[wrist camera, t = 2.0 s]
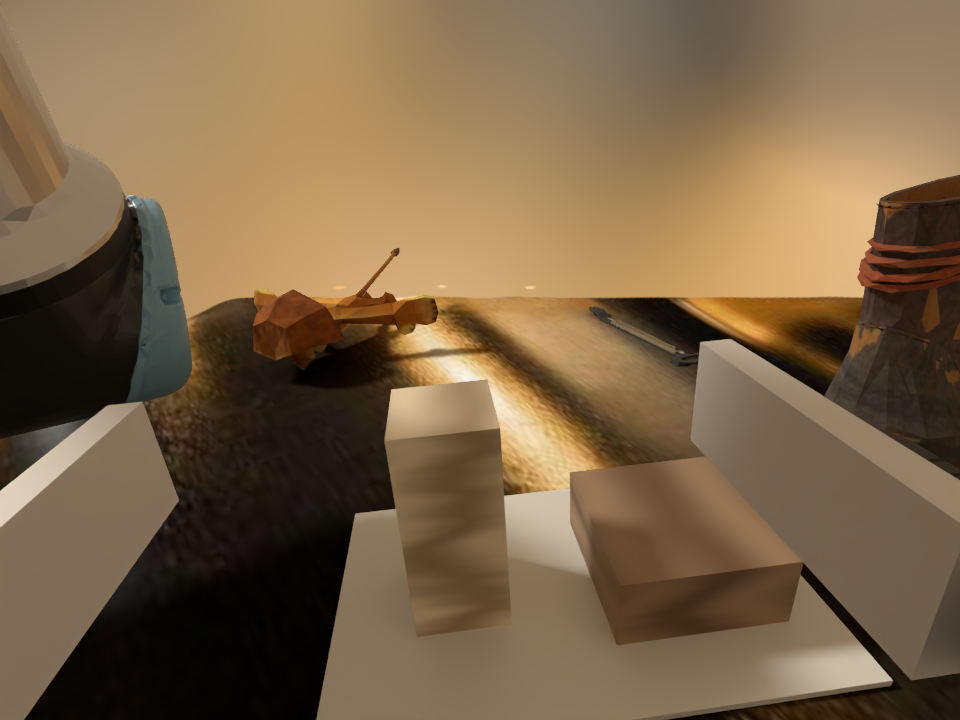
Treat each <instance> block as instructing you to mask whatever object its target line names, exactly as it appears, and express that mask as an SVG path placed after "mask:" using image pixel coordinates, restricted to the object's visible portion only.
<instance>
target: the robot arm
mask: <svg viewBox="0 0 960 720" xmlns="http://www.w3.org/2000/svg"><path fill="white" fill-rule="evenodd" d="M180 291H181V289H180V285H179V280H178V271H177V266H176V261H175V257H174V252H173V247H172V243H171V239H170V234H169V230H168V226H167V222H166V219H165V215H164V212H163V210H162V208H161V206H160V204H159V203H158V202H156V201H155V200H152V199H149V198H140V197H138V196H134V195H130V196H127V197H125V196H124V193H123V191H122V188H121V186H120V183H119V182H118V180H117V178H116V177H115V175H114V174H113V172H112V171H111V170H110V168H109V167H108V166H107V165H106V164H104V163H103V162H102V161H101V160H99V159H98V158H97V157H95V156H93V155H92V154H90V153H89V152H87V151H85V150H83V149H80V148H78V147H76V146H74V145H72V144H69V143H67V142H64V141H62V140H61V137H60V135H59V133H58V131H57V129H56V127H55V124H54V122H53V120H52V118H51V115H50V113H49V111H48V109H47V107H46V104H45V102H44V100H43V98H42V95H41V93H40V91H39V89H38V87H37V85H36V82H35V80H34V78H33V76H32V73H31V71H30V69H29V67H28V64H27V62H26V60H25V58H24V56H23V53H22V51H21V49H20V47H19V45H18V43H17V40H16V38H15V36H14V34H13V31H12V29H11V27H10V25H9V22H8V20H7V18H6V16H5V13H4V11H3V9H2V7H1V5H0V439H2V438H6V437H10V436H14V435H19V434H23V433H27V432H31V431H36V430H40V429H44V428H48V427H53V426H57V425H61V424H65V423H69V422H74V421H78V420H82V419H86V418H91V417H92V418H91V419H90V420H88V421H87V422H86V423H85V424H83V425H82V426H81V427H80V428H78V429H77V430H76V431H75V432H73V433H72V434H71V435H70V436H68V437H67V438H66V439H65V440H63V441H62V442H61V443H60V444H58V445H57V446H56V447H55V448H53V449H52V450H51V451H50V452H48V453H47V454H46V455H45V456H43V457H42V458H41V459H40V460H38V461H37V462H36V463H35V464H33V465H32V466H31V467H30V468H28V469H27V470H26V471H25V472H23V473H22V474H21V475H20V476H18V477H17V478H16V479H15V480H13V481H12V482H11V483H10V484H8V485H7V486H6V487H5V488H3V489H2V490H1V491H0V720H24V719H25V718H26V716H27V715H28V714H29V712H30V711H31V709H32V708H33V706H34V705H35V704H36V702H37V701H38V699H39V698H40V697H41V695H42V694H43V692H44V691H45V689H46V688H47V687H48V685H49V684H50V682H51V681H52V680H53V678H54V677H55V675H56V674H57V672H58V671H59V670H60V668H61V667H62V665H63V664H64V663H65V661H66V660H67V658H68V657H69V655H70V654H71V653H72V651H73V650H74V648H75V647H76V646H77V644H78V643H79V641H80V640H81V638H82V637H83V636H84V634H85V633H86V631H87V630H88V629H89V627H90V626H91V624H92V623H93V621H94V620H95V619H96V617H97V616H98V614H99V613H100V612H101V610H102V609H103V607H104V606H105V604H106V603H107V602H108V600H109V599H110V597H111V596H112V595H113V593H114V592H115V590H116V589H117V587H118V586H119V585H120V583H121V582H122V580H123V579H124V578H125V576H126V575H127V573H128V572H129V570H130V569H131V568H132V566H133V565H134V563H135V562H136V561H137V559H138V558H139V556H140V555H141V553H142V552H143V551H144V549H145V548H146V546H147V545H148V544H149V542H150V541H151V539H152V538H153V536H154V535H155V534H156V532H157V531H158V529H159V528H160V527H161V525H162V524H163V522H164V521H165V519H166V518H167V517H168V515H169V514H170V512H171V511H172V510H173V508H174V507H175V505H176V504H177V502H178V501H179V499H178V497H177V494H176V491H175V488H174V486H173V483H172V480H171V478H170V475H169V472H168V470H167V467H166V464H165V461H164V459H163V456H162V453H161V451H160V448H159V445H158V443H157V440H156V437H155V434H154V432H153V429H152V426H151V424H150V421H149V418H148V415H147V413H146V410H145V407H144V405H143V402H145V401H149V400H152V399H155V398H159V397H162V396H165V395H169V394H171V393H174V392H176V391H177V390H179V389H180V388H182V387H183V386H184V385H185V383H186V382H187V380H188V379H189V377H190V374H191V369H192V359H191V348H190V340H189V333H188V327H187V321H186V315H185V310H184V304H183V301H182V298H181V296H180ZM691 441H692V442H693V443H694V444H695V445H696V446H697V447H698V448H699V449H700V450H701V452H702V453H703V454H704V455H705V456H706V457H707V458H708V459H709V460H710V461H711V462H712V464H713V465H714V466H715V467H716V468H717V469H718V470H719V471H720V472H721V473H722V474H723V476H724V477H725V478H726V479H727V480H728V481H729V482H730V483H731V484H732V485H733V486H734V488H735V489H736V490H737V491H738V492H739V493H740V494H741V495H742V496H743V497H744V498H745V500H746V501H747V502H748V503H749V504H750V505H751V506H752V507H753V508H754V509H755V510H756V512H757V513H758V514H759V515H760V516H761V517H762V518H763V519H764V520H765V521H766V522H767V523H768V525H769V526H770V527H771V528H772V529H773V530H774V531H775V532H776V533H777V534H778V535H779V537H780V538H781V539H782V540H783V541H784V542H785V543H786V544H787V545H788V546H789V547H790V549H791V550H792V551H793V552H794V553H795V554H796V555H797V556H798V557H799V558H800V559H801V561H802V562H803V563H804V564H805V565H806V566H807V567H808V568H809V569H810V570H811V571H812V573H813V574H814V575H815V576H816V577H817V578H818V579H819V580H820V581H821V582H822V583H823V585H824V586H825V587H826V588H827V589H828V590H829V591H830V592H831V593H832V594H833V595H834V597H835V598H836V599H837V600H838V601H839V602H840V603H841V604H842V605H843V606H844V607H845V609H846V610H847V611H848V612H849V613H850V614H851V615H852V616H853V617H854V618H855V619H856V621H857V622H858V623H859V624H860V625H861V626H862V627H863V628H864V629H865V630H866V631H867V633H868V634H869V635H870V636H871V637H872V638H873V639H874V640H875V641H876V642H877V643H878V645H879V646H880V647H881V648H882V649H883V650H884V651H885V652H886V653H887V654H888V655H889V656H890V658H891V659H892V660H893V661H894V662H895V663H896V664H897V665H898V666H899V667H900V668H901V670H902V671H903V672H904V673H905V674H906V675H907V676H908V677H909V678H910V679H911V680H916V679H923V678H929V677H936V676H942V675H949V674H955V673H960V470H959V469H958V468H956V467H954V466H953V465H951V464H949V463H948V462H946V461H945V462H941V460H940V458H939V457H938V456H936V455H934V454H933V453H931V452H929V451H928V450H926V449H924V448H923V447H921V446H919V445H918V444H916V443H914V442H913V441H910V440H908V439H905V438H902V437H900V436H897V435H895V434H892V433H889V432H887V431H884V430H881V429H879V428H874V427H873V426H871V425H869V424H868V423H866V422H864V421H863V420H861V419H860V418H858V417H856V416H855V415H853V414H851V413H850V412H848V411H847V410H845V409H843V408H842V407H840V406H838V405H837V404H835V403H834V402H832V401H830V400H829V399H827V398H825V397H824V396H822V395H821V394H819V393H817V392H816V391H814V390H813V389H811V388H809V387H808V386H806V385H804V384H803V383H801V382H800V381H798V380H796V379H795V378H793V377H791V376H790V375H788V374H787V373H785V372H783V371H782V370H780V369H778V368H777V367H775V366H774V365H772V364H770V363H769V362H767V361H766V360H764V359H762V358H761V357H759V356H757V355H756V354H754V353H753V352H751V351H749V350H748V349H746V348H744V347H743V346H741V345H740V344H738V343H736V342H735V341H733V340H731V339H726V340H717V341H708V342H700V352H699V361H698V371H697V381H696V391H695V401H694V411H693V421H692V431H691Z"/></svg>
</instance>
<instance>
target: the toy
mask: <svg viewBox="0 0 960 720" xmlns="http://www.w3.org/2000/svg"><path fill="white" fill-rule="evenodd" d="M398 254H399V248H397V249H394V250H393V251H392V252H391V256H390V257H389V258H388V260H387V261H386V262H385V263H384V264H383V266H382V267H381V268H380V269H379V270H378V271H377V272H376V274H375V275H374V276H373V277H372V278H371V279H370V281H369V282H368V283H367V284H366V285H365V286H364V287H363V288H362V289H361V291H359V292H358V293H357V294H356V295H353V296H350V297H346V298H344V299H343V300H342V301H340V302H339V303H338V304H323V303H318V302H316V301H314V300H312V299H311V298H309V297H307V296H305V295H302V294H301V293H299V292H297V291H295V290H291V291H289V292H287V293H285V294H283V295H281V296H279V297H278V298H277V297H276V295H275V294H274V293H270V292H269V291H268V289H262V290H255V296H254V303H255V306H256V308H257V310H258V313H257V315H256V318H255V321H254V324H253V345H254V352H257V353H259V354H261V355H264V356H266V357H269V358H271V359H274V360H278V359H280V358H283V357H286V356H288V357H289V358H291V359H292V361H293V362H294V363H295V364H296V365H297V366H298V367H299V368H301V369H302V370H306V369H307V368H309V364H310V362H311V361H312V360H313V359H314V358H315V355H317V354H319V353H321V352H322V351H323V350H324V349H325V348H326V347H327V345H326V344H328V343H332V342H336V341H340V340H344V337H343V335H342V332H344V331H345V330H346V328H347V327H348V326H349V325H350V324H390V325H391V324H395V325H396V326H397V328H398V330H399V331H400V332H401V333H402V334H404V335H406V334H409V333H412V332H413V330H414V329H415V323H417V324H423V325H428V324H431V323H434V322H436V319H437V315H438V309H437V306H436V302H435V299H434V297H432V296H428V295H421V296H418V297H414V298H410V299H403V300H400V301H396V299H395V297H394V296H393V295H392V294H389V293H387V292H385V293H384V295H383V296H382V297H380V298H372V297H371V296H370V295H369V294H368V293H367V292H366V290H367V289H368V288H369V287H370V285H371V284H372V283H373V282H374V281H375V279H376V278H377V277H378V275H379V274H380V273H381V272H382V271H383V270H384V268H385V267H386V266H387V265H388V264H389V262H390V261H391V260H392V259H393V257H394V256H397V255H398Z"/></svg>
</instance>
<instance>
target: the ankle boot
mask: <svg viewBox="0 0 960 720" xmlns="http://www.w3.org/2000/svg"><path fill="white" fill-rule="evenodd" d="M878 206H879V207H878V213H877V219H876V225H875V231H874V237H873V238H872V239H870V240H869V241H868V243H869V244H870V245H871V246H872V247H871V248H870V249H869V250H868V251H867V252H866V253H865V255H866V257H865V258H864V259H863V260H861V264H860V268H859V270H860V273H859V275H858V279H859V281H860V283H861V285H862V286H865V291H864V297H863V303H862V308H861V314H860V319H859V320H858V322H857V326H856V329H855V332H854V336H853V339H852V342H851V346H850V349H849V352H848V354H847V355H846V357H845V359H844V361H843V363H842V365H841V366H840V368H839V370H838V372H837V374H836V376H835V377H834V379H833V381H832V383H831V385H830V386H829V388H828V390H827V392H826V394H825V396H824V397H825V398H827V399H829V400H830V401H832V402H834V403H835V404H837V405H838V406H840V407H842V408H843V409H845V410H847V411H848V412H850V413H851V414H853V415H855V416H856V417H858V418H860V419H861V420H863V421H864V422H866V423H868V424H869V425H871V426H873V427H874V428H879V429H881V430H884V431H887V432H889V433H892V434H895V435H897V436H900V437H902V438H905V439H908V440H910V441H913V442H914V443H916V444H918V445H919V446H921V447H923V448H924V449H926V450H928V451H929V452H931V453H933V454H934V455H936V456H938V457H939V458H940V460H941V462H945V461H946V462H948V463H949V464H951V465H953V466H954V467H956V468H958V469H959V470H960V175H957V176H953V177H947V178H943V179H938V180H935V181H931V182H928V183H924V184H921V185H917V186H914V187H911V188H907V189H903V190H900V191H896V192H893V193H891V194H888V195H886V196H884V197H882V198H881V199H880V201H879V205H878Z"/></svg>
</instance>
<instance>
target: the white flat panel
mask: <svg viewBox="0 0 960 720" xmlns="http://www.w3.org/2000/svg"><path fill="white" fill-rule="evenodd" d="M504 504H505V521H506V537H507V554H508V571H509V588H510V604H511V621H512V624H510V625H503V626H495V627H488V628H480V629H473V630H466V631H458V632H451V633H444V634H436V635H429V636H421V637H417V634H416V628H415V622H414V616H413V610H412V604H411V598H410V592H409V586H408V580H407V574H406V568H405V561H404V555H403V549H402V543H401V537H400V531H399V525H398V519H397V513H396V509H391V510H383V511H375V512H366V513H358V514H355V518H354V524H353V529H352V534H351V539H350V545H349V550H348V555H347V561H346V566H345V571H344V576H343V582H342V587H341V592H340V598H339V603H338V608H337V614H336V619H335V624H334V629H333V635H332V640H331V645H330V651H329V656H328V661H327V666H326V672H325V677H324V682H323V688H322V693H321V698H320V704H319V709H318V714H317V719H316V720H667V719H674V718H680V717H687V716H694V715H700V714H707V713H714V712H720V711H727V710H733V709H740V708H747V707H753V706H760V705H767V704H773V703H780V702H786V701H793V700H800V699H806V698H813V697H820V696H826V695H833V694H839V693H846V692H853V691H859V690H866V689H873V688H879V687H886V686H891V684H892V682H893V680H892V679H891V678H890V677H889V675H888V674H887V673H886V672H885V671H884V670H883V669H882V667H881V666H880V665H879V664H878V663H877V662H876V661H875V659H874V658H873V657H872V656H871V655H870V654H869V653H868V651H867V650H866V649H865V648H864V647H863V646H862V645H861V643H860V642H859V641H858V640H857V639H856V638H855V637H854V635H853V634H852V633H851V632H850V631H849V630H848V628H847V627H846V626H845V625H844V624H843V623H842V622H841V620H840V619H839V618H838V617H837V616H836V615H835V614H834V612H833V611H832V610H831V609H830V608H829V607H828V606H827V604H826V603H825V602H824V601H823V600H822V599H821V598H820V596H819V595H818V594H817V593H816V592H815V591H814V590H813V588H812V587H811V586H810V585H809V584H808V583H807V582H806V580H805V579H804V578H803V577H802V576H801V575H800V578H799V583H798V587H797V591H796V595H795V599H794V603H793V607H792V611H791V616H790V620H789V621H788V622H781V623H773V624H766V625H759V626H752V627H745V628H738V629H731V630H724V631H716V632H709V633H702V634H695V635H688V636H681V637H674V638H667V639H659V640H652V641H645V642H638V643H631V644H624V645H617V644H616V641H615V639H614V636H613V634H612V631H611V628H610V626H609V623H608V620H607V618H606V615H605V613H604V610H603V607H602V605H601V602H600V600H599V597H598V594H597V592H596V589H595V587H594V584H593V581H592V579H591V576H590V574H589V571H588V568H587V566H586V563H585V560H584V558H583V555H582V553H581V550H580V547H579V545H578V542H577V540H576V537H575V534H574V532H573V529H572V527H571V524H570V488H568V489H559V490H551V491H543V492H534V493H526V494H517V495H509V496H504Z"/></svg>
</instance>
